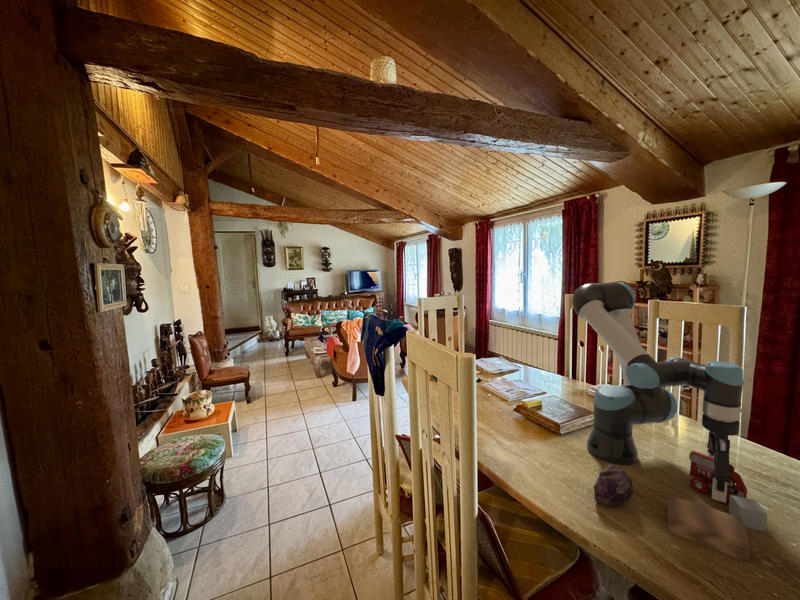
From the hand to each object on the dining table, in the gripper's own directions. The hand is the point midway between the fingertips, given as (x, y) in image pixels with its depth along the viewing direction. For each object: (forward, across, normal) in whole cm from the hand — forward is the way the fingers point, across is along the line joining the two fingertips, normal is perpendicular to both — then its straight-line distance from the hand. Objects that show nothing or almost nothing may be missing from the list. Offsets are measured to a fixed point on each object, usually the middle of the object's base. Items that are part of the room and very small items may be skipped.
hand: (715, 487), depth 93 cm
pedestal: (+2, -20, +4) cm, 20 cm away
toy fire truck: (+2, 0, 0) cm, 2 cm away
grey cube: (+2, -9, -5) cm, 10 cm away
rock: (+2, -20, +23) cm, 31 cm away
